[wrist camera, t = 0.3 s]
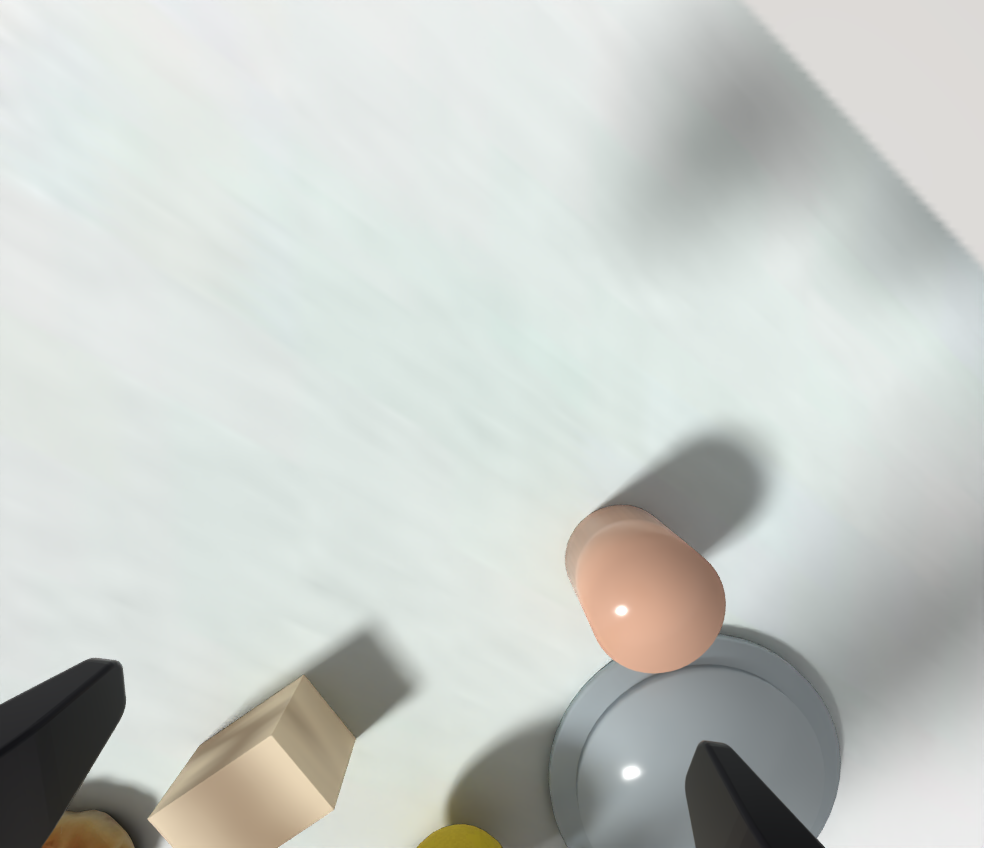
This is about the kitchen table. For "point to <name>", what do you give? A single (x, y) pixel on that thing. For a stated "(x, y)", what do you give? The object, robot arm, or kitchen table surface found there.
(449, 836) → the lemon
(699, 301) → the kitchen table surface
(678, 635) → the pink cylinder
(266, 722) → the beech block
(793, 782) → the plate
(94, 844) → the pastry
